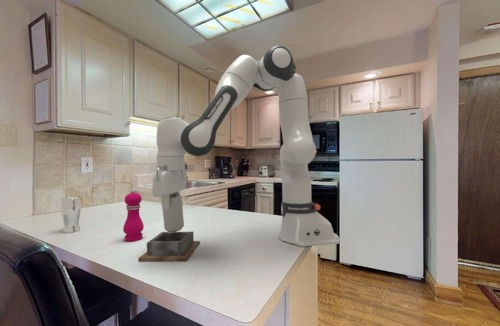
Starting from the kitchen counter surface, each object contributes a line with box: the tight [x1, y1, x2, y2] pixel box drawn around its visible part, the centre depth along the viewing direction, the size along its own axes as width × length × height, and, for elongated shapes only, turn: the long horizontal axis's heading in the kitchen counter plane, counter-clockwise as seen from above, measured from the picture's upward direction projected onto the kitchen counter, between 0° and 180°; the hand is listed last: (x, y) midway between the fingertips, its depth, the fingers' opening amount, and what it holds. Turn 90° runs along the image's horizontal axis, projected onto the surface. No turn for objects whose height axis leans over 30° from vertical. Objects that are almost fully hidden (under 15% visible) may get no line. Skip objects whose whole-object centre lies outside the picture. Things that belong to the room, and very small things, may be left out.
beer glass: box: [60, 196, 82, 234], centre depth 100 cm, size 7×7×15 cm
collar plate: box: [137, 231, 201, 263], centre depth 74 cm, size 15×15×5 cm
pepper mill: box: [122, 188, 145, 243], centre depth 88 cm, size 7×7×20 cm
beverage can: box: [161, 193, 185, 232], centre depth 75 cm, size 6×6×12 cm
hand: (171, 206), depth 74 cm, fingers closed on beverage can, 6 cm apart
